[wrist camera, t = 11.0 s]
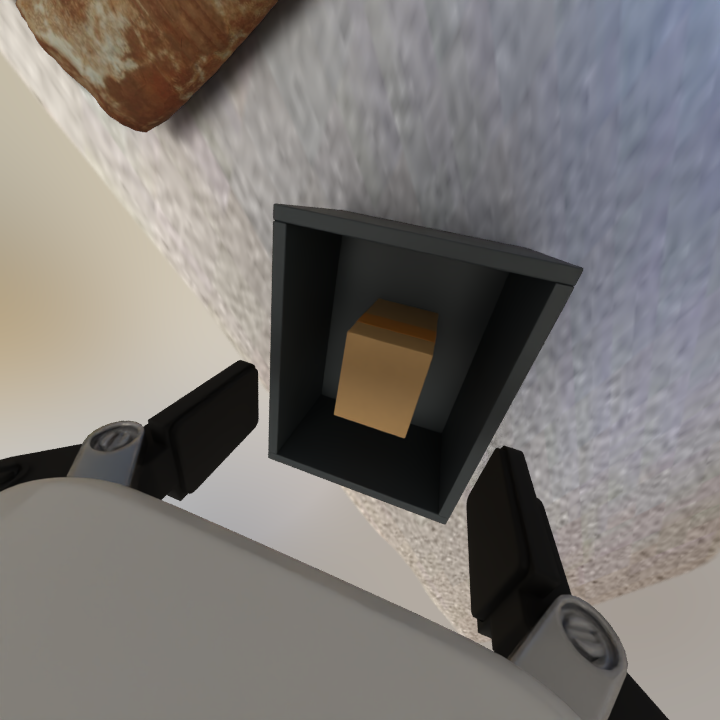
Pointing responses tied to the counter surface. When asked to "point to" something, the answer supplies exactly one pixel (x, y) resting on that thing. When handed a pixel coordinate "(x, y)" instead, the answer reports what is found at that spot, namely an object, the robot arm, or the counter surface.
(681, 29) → the counter surface
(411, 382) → the carton
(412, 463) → the bin
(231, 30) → the bread
